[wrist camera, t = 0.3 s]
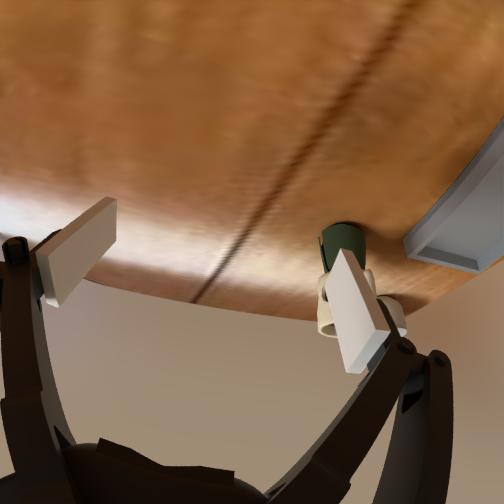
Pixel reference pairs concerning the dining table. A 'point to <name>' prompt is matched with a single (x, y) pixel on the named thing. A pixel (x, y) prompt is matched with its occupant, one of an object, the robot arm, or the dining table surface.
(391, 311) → the teacup
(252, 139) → the dining table surface
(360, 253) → the character mug
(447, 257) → the tray
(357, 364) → the robot arm
